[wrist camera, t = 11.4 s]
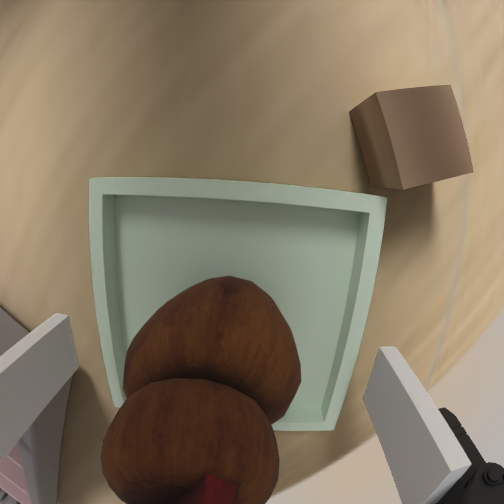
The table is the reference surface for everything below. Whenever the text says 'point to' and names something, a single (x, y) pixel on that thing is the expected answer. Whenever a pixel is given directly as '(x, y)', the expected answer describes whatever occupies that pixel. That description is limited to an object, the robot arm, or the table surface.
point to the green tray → (240, 268)
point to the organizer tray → (33, 441)
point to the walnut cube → (411, 137)
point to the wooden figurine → (204, 399)
